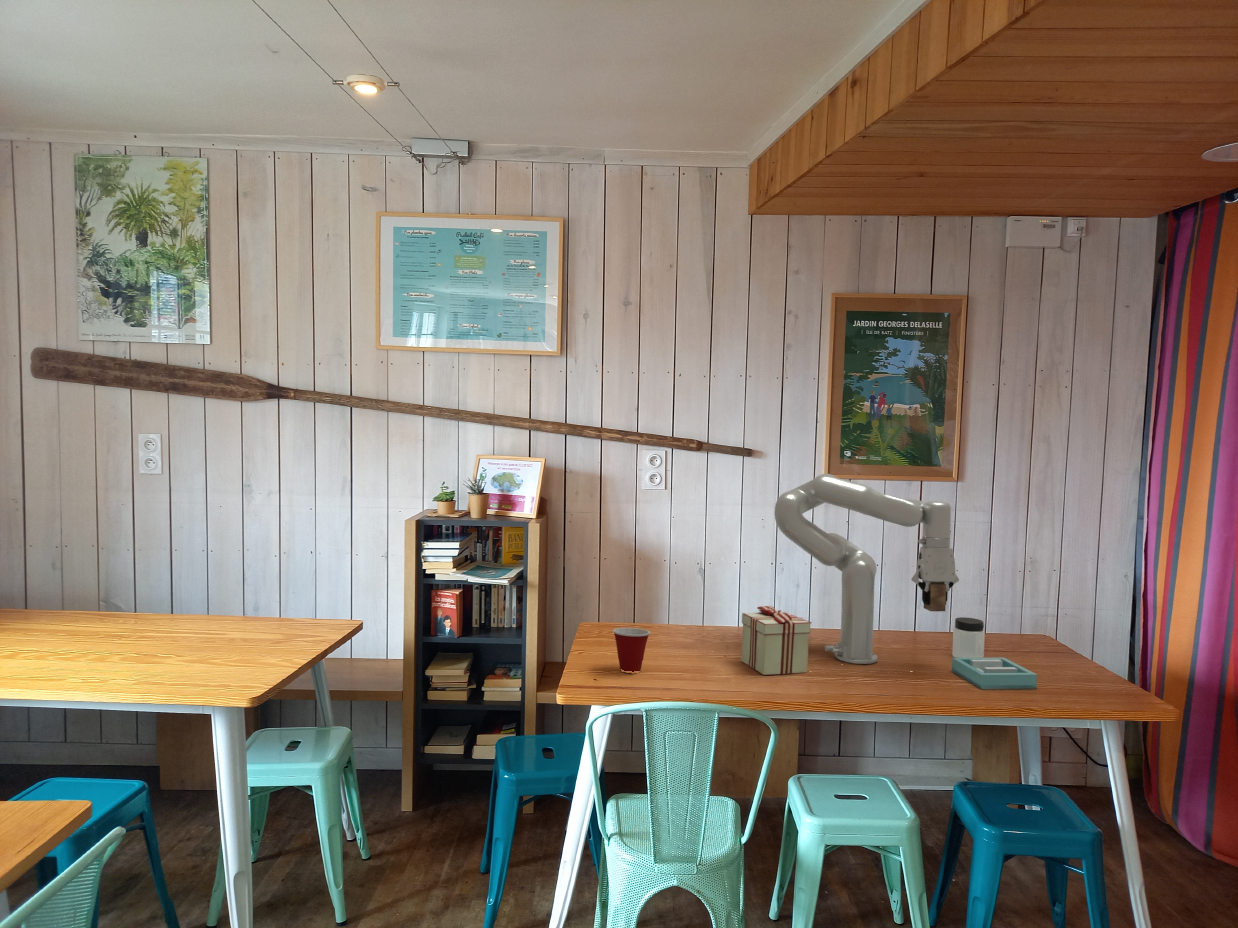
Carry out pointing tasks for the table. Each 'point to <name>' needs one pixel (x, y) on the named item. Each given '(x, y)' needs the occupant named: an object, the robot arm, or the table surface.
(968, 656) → the jar
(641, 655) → the plastic cup
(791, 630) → the gift box
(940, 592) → the brown wooden block
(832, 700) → the table surface
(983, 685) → the candle dish
